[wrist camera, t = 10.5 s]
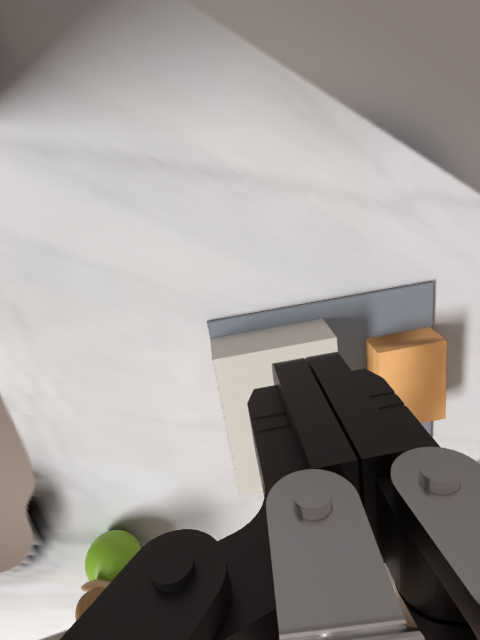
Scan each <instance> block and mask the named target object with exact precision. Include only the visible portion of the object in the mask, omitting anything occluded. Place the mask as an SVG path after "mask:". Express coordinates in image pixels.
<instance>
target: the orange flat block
mask: <svg viewBox="0 0 480 640" xmlns="http://www.w3.org/2000/svg"><path fill="white" fill-rule="evenodd" d="M365 345H366V362H367V370H369V371H371V372H373V373H375V374H377V375H379V376H381V377H382V378H384V379H385V380H386V382H387V383H388V384H389V385H390V387H391V388H392V389H393V390H394V391H395V395H396V394H397V395H398V396H399V397H400V399H401V400H402V401H403V402H404V405H405V406H407V407H408V408H409V410H410V411H411V412H412V413H413V415H414V416H415V417H416V418H417V419H418V421H419V422H420V423H425V422H430V421H435V420H440V419H445V417H446V364H447V340H446V339H445V338H444V337H442V336H441V335H440V334H438V333H437V332H436V331H434V330H433V329H432V328H430V327H425V328H420V329H415V330H409V331H404V332H399V333H394V334H389V335H383V336H378V337H373V338H368V339H365Z"/></svg>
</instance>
